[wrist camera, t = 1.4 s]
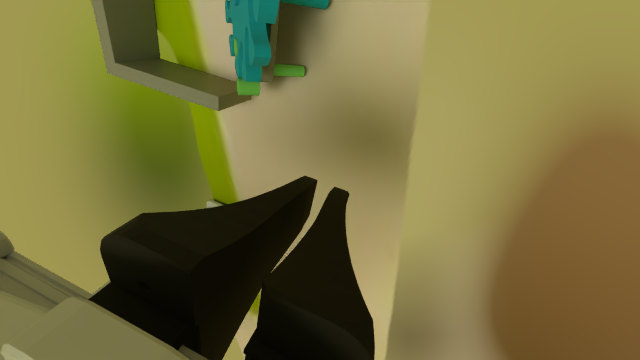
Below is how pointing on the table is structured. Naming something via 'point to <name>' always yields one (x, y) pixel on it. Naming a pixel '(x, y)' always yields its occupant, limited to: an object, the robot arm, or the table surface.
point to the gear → (259, 41)
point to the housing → (154, 56)
